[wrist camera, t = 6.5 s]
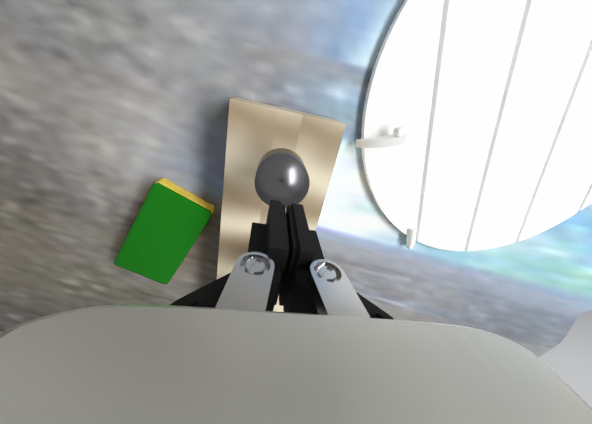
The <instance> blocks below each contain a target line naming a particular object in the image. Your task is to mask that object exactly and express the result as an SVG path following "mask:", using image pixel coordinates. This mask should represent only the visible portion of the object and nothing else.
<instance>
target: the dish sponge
mask: <svg viewBox="0 0 592 424" xmlns="http://www.w3.org/2000/svg"><path fill="white" fill-rule="evenodd" d="M214 210H215V207H214V205H212V204H210V203H208V202H206V201H205V200H203V199H201V198H199V197H197V196H196V195H194V194H192V193H190V192H188V191H186V190H185V189H183V188H181V187H179V186H177V185H175V184H174V183H172V182H170V181H168V180H166V179H165V178H163V179H159V180H158V181H157V182H155V183H154V184H153V185H152V187H151V189H150V191H149V193H148V195H147V197H146V199H145V201H144V203H143V205H142V207H141V209H140V211H139V213H138V215H137V217H136V219H135V221H134V223H133V225H132V227H131V229H130V231H129V233H128V235H127V237H126V239H125V241H124V243H123V245H122V247H121V249H120V251H119V253H118V255H117V257H116V259H115V261H114V263H115V264H116V265H117V266H120V267H122V268H125V269H127V270H130V271H132V272H135V273H137V274H140V275H142V276H145V277H147V278H150V279H152V280H155V281H157V282H160V283H162V284H168V282H169V281H170V279H171V278H172V276H173V275H174V273H175V272H176V270H177V269H178V267H179V265H180V264H181V262H182V261H183V259H184V258H185V256H186V255H187V253H188V251H189V250H190V248H191V247H192V245H193V244H194V242H195V241H196V239H197V238H198V236H199V234H200V233H201V231H202V230H203V228H204V227H205V225H206V224H207V222H208V220H209V219H210V217H211V216H212V214H213V212H214Z"/></svg>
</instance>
